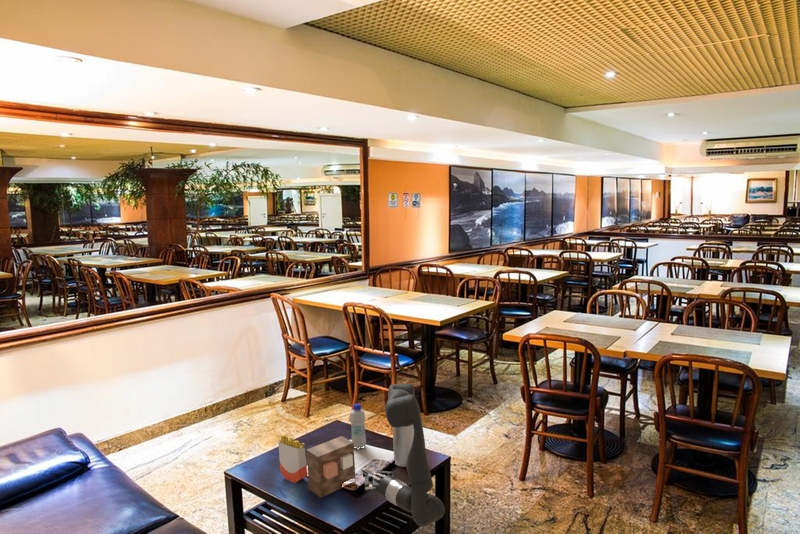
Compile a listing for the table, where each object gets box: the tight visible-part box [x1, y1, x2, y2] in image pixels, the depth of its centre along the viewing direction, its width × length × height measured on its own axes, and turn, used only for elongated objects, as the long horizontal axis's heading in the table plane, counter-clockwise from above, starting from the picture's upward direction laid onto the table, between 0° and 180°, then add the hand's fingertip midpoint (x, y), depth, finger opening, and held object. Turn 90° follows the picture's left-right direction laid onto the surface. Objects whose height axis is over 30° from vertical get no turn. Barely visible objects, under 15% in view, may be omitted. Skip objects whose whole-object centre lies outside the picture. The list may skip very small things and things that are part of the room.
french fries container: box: [277, 434, 308, 484], centre depth 208 cm, size 5×11×18 cm, turn 54°
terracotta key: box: [322, 460, 338, 479], centre depth 195 cm, size 4×4×4 cm
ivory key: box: [340, 453, 353, 470], centre depth 201 cm, size 4×4×4 cm
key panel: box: [306, 435, 356, 499], centre depth 202 cm, size 16×8×16 cm, turn 131°
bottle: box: [349, 403, 367, 449], centre depth 232 cm, size 7×7×20 cm
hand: (364, 472), depth 192 cm, fingers closed
